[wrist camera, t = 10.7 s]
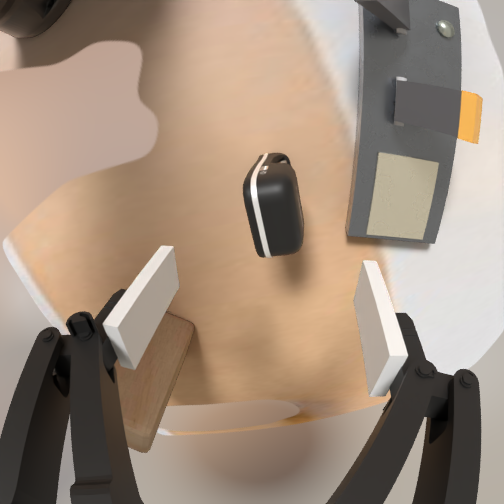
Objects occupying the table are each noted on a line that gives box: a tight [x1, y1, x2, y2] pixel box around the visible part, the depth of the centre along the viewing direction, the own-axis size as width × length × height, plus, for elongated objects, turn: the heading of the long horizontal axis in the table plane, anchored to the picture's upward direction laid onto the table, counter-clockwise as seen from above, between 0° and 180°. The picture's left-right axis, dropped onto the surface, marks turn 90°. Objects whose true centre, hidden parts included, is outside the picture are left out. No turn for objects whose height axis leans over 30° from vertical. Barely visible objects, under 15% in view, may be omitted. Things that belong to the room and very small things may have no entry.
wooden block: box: [114, 312, 194, 453], centre depth 37 cm, size 10×10×20 cm
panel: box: [345, 0, 461, 244], centre depth 24 cm, size 11×28×2 cm, turn 0°
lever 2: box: [394, 77, 482, 144], centre depth 19 cm, size 2×5×8 cm
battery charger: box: [243, 153, 304, 258], centre depth 26 cm, size 7×4×11 cm, turn 12°
